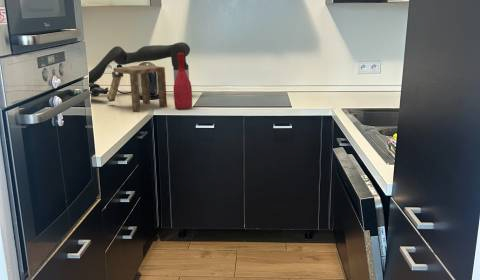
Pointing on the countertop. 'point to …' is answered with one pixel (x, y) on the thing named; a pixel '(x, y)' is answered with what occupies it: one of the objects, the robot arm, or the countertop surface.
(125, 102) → the countertop surface
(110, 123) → the countertop surface
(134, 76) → the walnut stool
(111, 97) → the oak leg
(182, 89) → the red bottle
